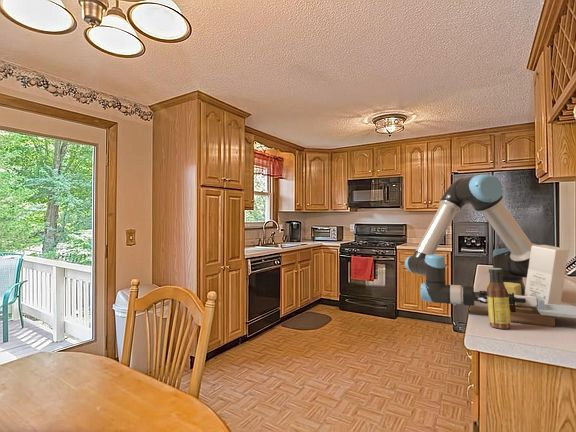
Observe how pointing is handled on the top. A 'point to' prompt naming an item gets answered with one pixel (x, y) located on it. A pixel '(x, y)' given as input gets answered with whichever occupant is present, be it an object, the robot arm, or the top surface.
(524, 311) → the brown flat block
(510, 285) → the cheese
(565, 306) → the lid
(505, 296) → the sauce bottle
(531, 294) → the tall white carton
